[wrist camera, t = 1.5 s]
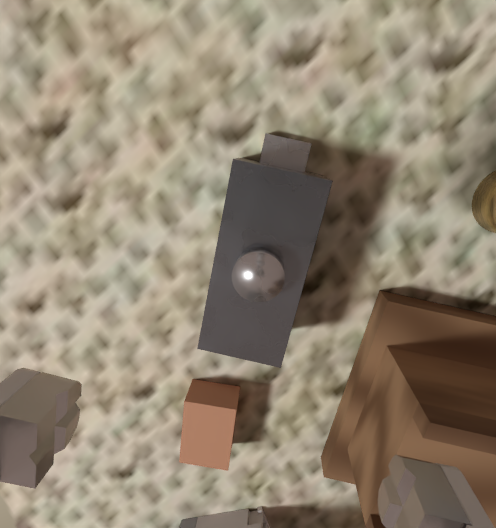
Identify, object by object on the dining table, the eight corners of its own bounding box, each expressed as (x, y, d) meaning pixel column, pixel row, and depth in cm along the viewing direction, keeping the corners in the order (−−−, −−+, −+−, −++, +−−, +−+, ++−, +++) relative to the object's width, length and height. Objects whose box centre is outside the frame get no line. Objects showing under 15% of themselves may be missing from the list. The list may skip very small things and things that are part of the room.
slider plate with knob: (247, 130, 23) (237, 122, 18) (329, 147, 23) (345, 145, 18) (207, 335, 28) (189, 381, 22) (274, 350, 28) (274, 400, 22)
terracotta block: (193, 377, 30) (184, 401, 27) (240, 384, 30) (236, 409, 27) (188, 434, 32) (179, 462, 29) (232, 441, 31) (227, 470, 29)
